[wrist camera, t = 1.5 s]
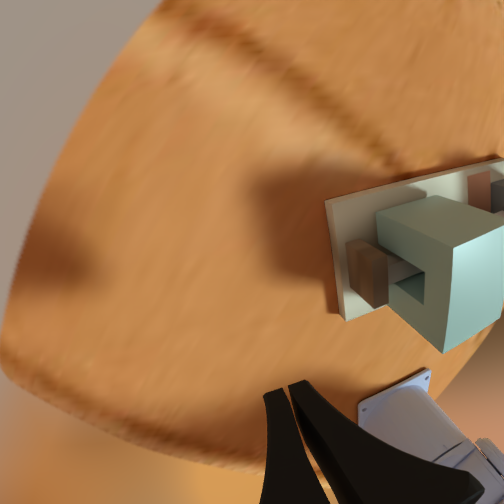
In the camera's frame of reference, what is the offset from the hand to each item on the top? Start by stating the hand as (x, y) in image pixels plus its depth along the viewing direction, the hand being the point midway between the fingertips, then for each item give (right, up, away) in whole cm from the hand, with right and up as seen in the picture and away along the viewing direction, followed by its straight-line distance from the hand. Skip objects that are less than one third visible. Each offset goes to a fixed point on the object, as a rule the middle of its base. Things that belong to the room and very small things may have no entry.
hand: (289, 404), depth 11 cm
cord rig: (+12, +7, +10) cm, 18 cm away
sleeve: (+9, +6, +9) cm, 14 cm away
